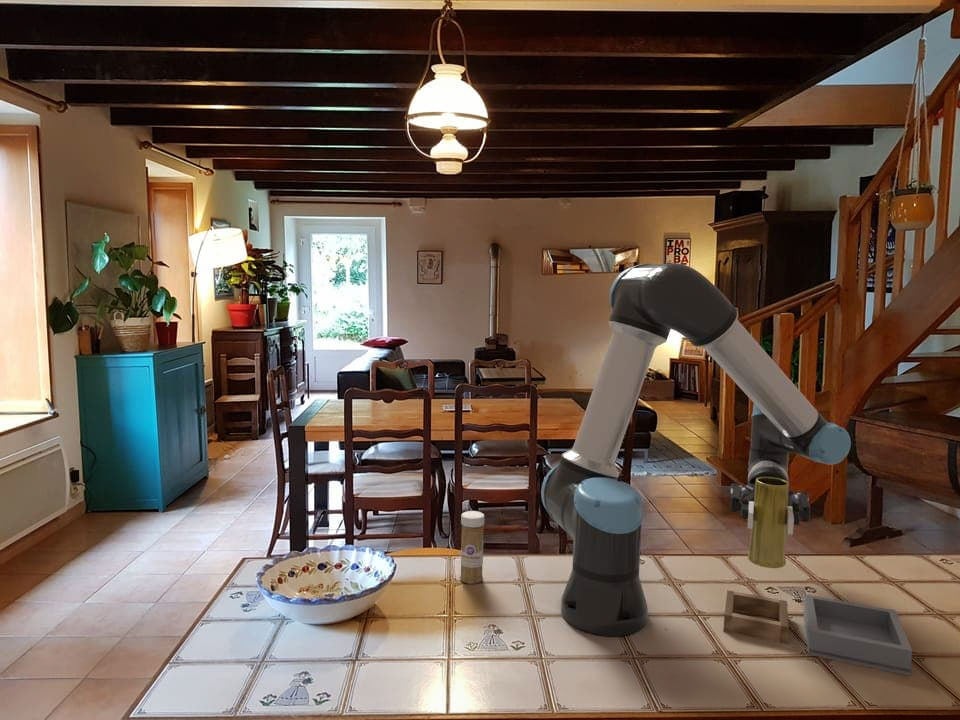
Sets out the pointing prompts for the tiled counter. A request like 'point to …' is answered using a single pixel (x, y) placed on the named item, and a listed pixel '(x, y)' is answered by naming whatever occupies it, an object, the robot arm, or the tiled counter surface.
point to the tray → (856, 634)
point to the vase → (769, 523)
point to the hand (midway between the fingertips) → (770, 523)
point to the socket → (752, 624)
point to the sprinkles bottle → (472, 547)
